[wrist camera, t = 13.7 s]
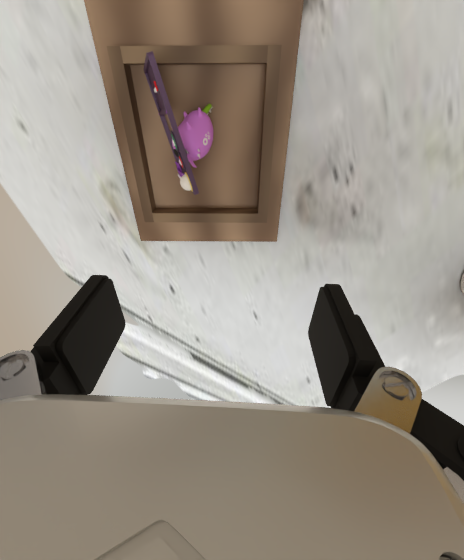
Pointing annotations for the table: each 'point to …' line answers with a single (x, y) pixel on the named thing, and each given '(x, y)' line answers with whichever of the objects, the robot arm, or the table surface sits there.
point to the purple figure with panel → (181, 127)
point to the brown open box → (199, 93)
